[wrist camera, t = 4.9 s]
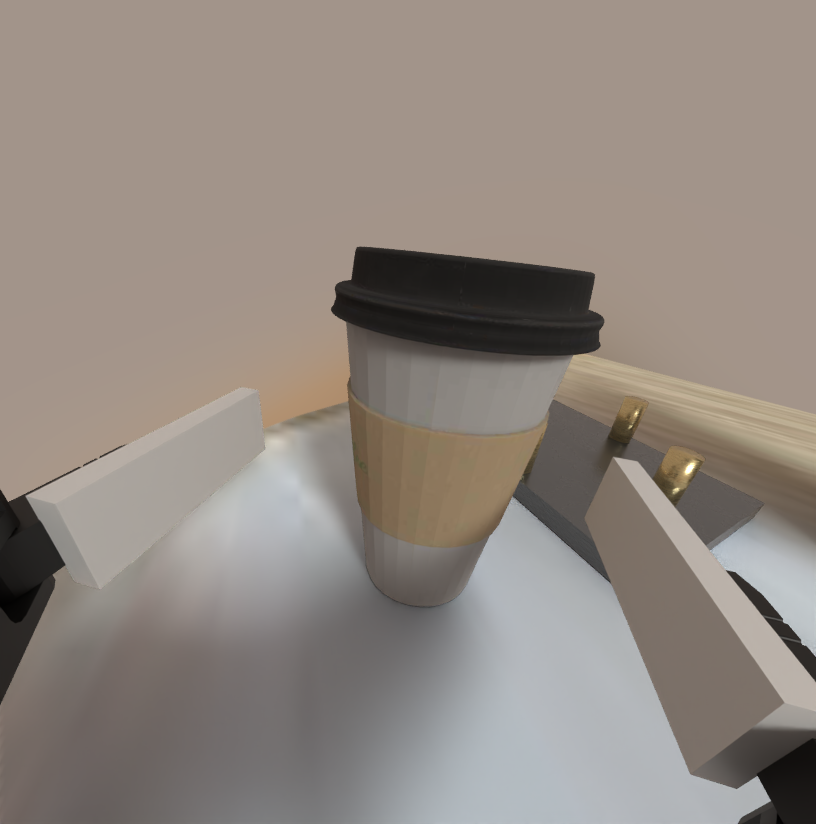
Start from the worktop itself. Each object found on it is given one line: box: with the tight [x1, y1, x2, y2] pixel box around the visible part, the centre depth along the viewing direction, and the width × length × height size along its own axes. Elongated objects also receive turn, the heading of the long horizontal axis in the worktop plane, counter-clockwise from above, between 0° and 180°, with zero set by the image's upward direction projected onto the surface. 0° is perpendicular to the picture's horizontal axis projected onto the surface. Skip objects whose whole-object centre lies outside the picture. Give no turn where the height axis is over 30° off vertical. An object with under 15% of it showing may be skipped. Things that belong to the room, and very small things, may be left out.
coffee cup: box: [331, 247, 604, 607], centre depth 14 cm, size 9×9×15 cm
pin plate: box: [513, 396, 765, 582], centre depth 26 cm, size 20×16×6 cm
